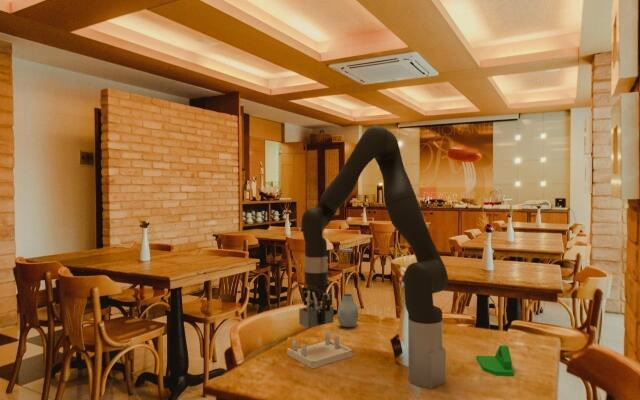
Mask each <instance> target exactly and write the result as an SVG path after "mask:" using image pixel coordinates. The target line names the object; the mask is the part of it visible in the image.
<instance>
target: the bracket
mask: <svg viewBox="0 0 640 400" xmlns="http://www.w3.org/2000/svg"><path fill="white" fill-rule="evenodd" d="M475 359H476V361H477V363H478V364H479V366H480V369H482V371H483V372H484V373H485V372H486V373H488V374H491V375H494V376H503V377H515V372H514V370H513V367H512V366H513V363H512V362H513V360H512V358H511V353H510V348H509V345H507V344H505V345H502V344H501V345H499V346H498V348H497V351H496V353H495V355H476V356H475Z"/></svg>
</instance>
